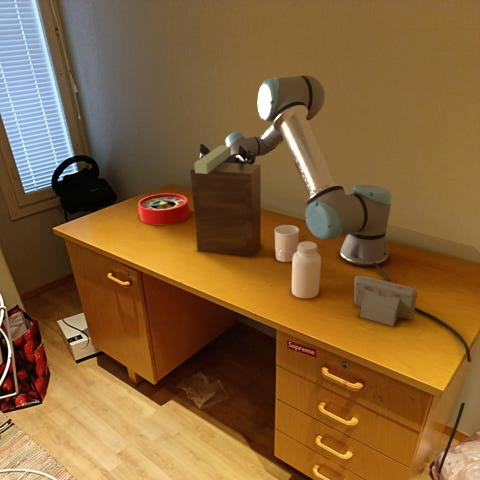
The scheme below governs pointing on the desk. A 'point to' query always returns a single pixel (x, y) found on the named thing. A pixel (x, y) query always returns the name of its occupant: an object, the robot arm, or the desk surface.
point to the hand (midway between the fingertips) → (220, 149)
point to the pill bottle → (306, 270)
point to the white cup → (286, 242)
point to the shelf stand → (228, 209)
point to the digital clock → (384, 300)
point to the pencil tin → (212, 159)
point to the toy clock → (163, 209)
